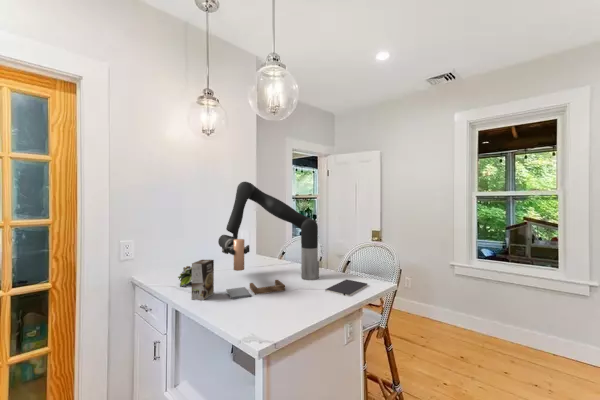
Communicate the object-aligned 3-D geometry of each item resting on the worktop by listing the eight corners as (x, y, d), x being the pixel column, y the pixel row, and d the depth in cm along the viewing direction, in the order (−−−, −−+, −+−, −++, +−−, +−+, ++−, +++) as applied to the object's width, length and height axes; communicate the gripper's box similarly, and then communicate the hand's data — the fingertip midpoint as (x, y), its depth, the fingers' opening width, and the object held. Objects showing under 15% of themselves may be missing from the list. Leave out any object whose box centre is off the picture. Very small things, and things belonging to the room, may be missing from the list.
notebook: (346, 282, 156) (325, 292, 139) (346, 279, 156) (325, 289, 139) (368, 286, 148) (348, 297, 131) (368, 283, 148) (348, 294, 131)
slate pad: (244, 288, 142) (244, 286, 142) (250, 296, 131) (250, 294, 131) (226, 291, 139) (226, 289, 139) (230, 299, 128) (230, 297, 128)
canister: (243, 267, 139) (243, 238, 139) (245, 270, 134) (245, 240, 134) (232, 268, 137) (232, 239, 137) (234, 271, 132) (234, 240, 132)
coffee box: (204, 300, 126) (204, 263, 126) (190, 299, 128) (190, 263, 127) (214, 293, 135) (214, 259, 135) (201, 292, 136) (201, 258, 136)
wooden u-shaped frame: (277, 284, 150) (277, 279, 150) (285, 290, 140) (285, 285, 140) (249, 288, 144) (249, 283, 144) (255, 294, 134) (255, 289, 134)
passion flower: (186, 292, 153) (193, 271, 160) (202, 291, 149) (208, 269, 156) (170, 285, 145) (178, 263, 152) (186, 283, 141) (194, 261, 148)
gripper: (219, 239, 146) (224, 245, 131) (246, 238, 152) (255, 243, 136) (219, 254, 146) (224, 261, 131) (246, 252, 152) (255, 258, 136)
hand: (239, 252), depth 134 cm, fingers closed on canister, 5 cm apart
